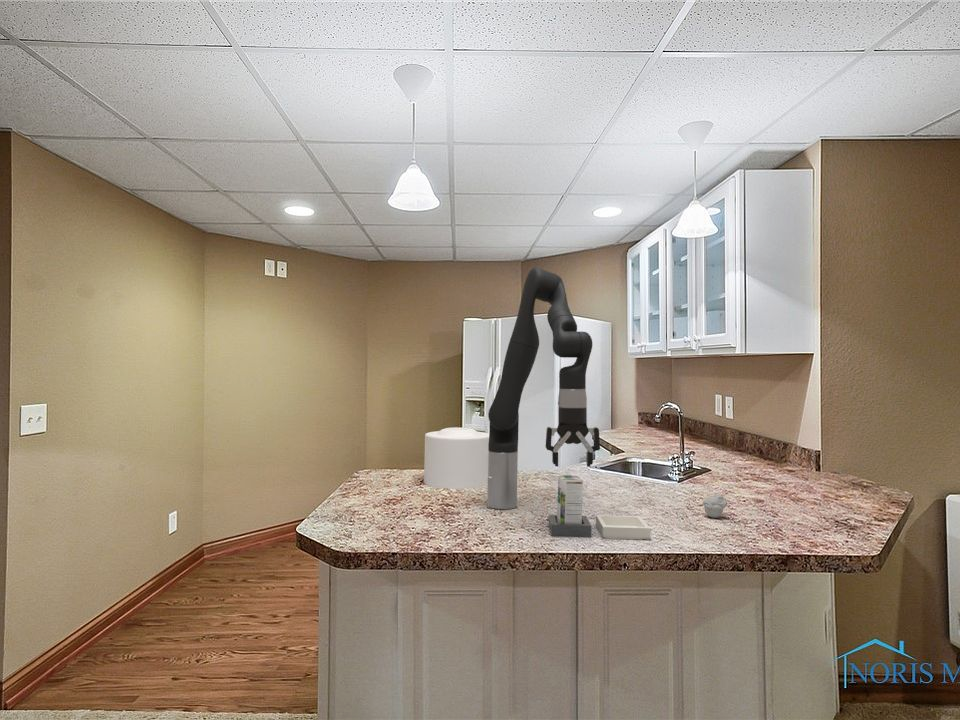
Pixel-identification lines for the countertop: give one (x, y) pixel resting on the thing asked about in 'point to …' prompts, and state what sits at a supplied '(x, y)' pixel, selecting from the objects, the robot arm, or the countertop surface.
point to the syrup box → (569, 499)
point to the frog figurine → (715, 505)
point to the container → (456, 458)
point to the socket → (569, 528)
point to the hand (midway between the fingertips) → (572, 466)
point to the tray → (622, 527)
